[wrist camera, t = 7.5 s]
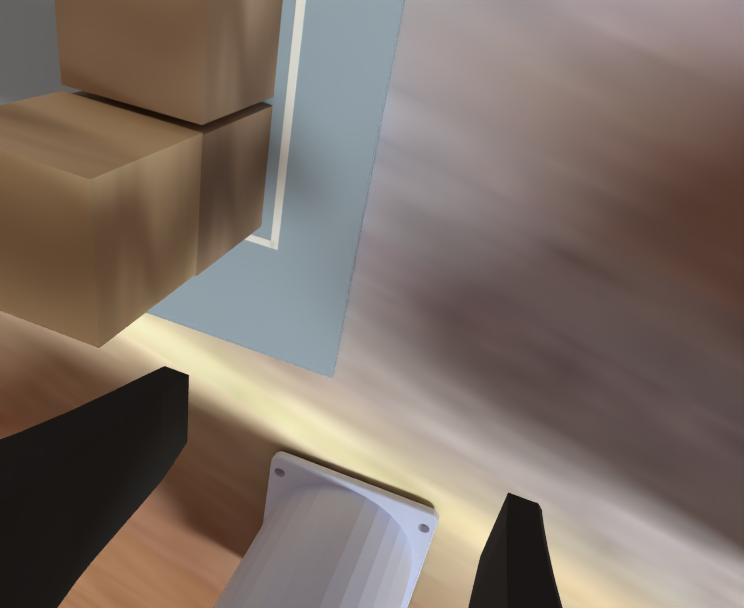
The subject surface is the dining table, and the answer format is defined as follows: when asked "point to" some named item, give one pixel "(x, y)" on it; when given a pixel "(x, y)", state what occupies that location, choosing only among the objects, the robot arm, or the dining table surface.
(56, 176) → the oak block
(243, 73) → the walnut block
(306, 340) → the blueprint mat
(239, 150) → the walnut block
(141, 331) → the dining table surface
